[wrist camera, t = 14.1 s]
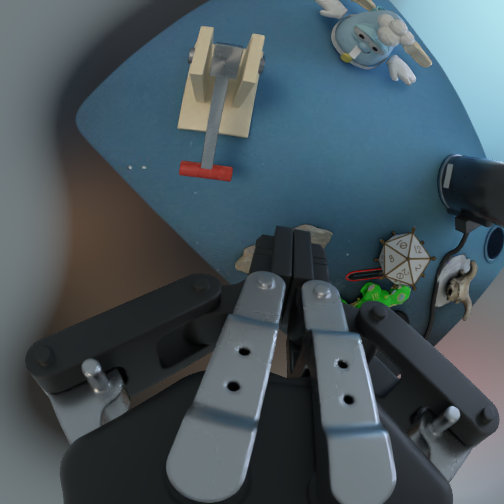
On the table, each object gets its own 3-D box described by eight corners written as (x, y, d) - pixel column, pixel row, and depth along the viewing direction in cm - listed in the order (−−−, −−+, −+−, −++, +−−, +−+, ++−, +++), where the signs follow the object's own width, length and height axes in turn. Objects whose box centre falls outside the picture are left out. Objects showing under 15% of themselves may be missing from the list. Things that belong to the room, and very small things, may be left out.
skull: (468, 250, 44) (489, 256, 38) (462, 304, 46) (481, 315, 40) (433, 257, 43) (455, 265, 37) (428, 316, 45) (447, 329, 40)
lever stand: (246, 138, 32) (268, 127, 20) (178, 129, 30) (160, 112, 18) (261, 55, 29) (289, 9, 17) (196, 45, 27) (191, -6, 15)
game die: (378, 253, 44) (396, 310, 38) (354, 233, 39) (375, 298, 33) (424, 227, 39) (448, 284, 33) (408, 201, 33) (438, 267, 28)
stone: (229, 247, 37) (241, 277, 39) (229, 258, 34) (243, 289, 37) (327, 214, 36) (334, 246, 38) (335, 223, 33) (341, 257, 36)
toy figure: (278, 31, 28) (320, -30, 14) (322, -7, 26) (371, -61, 12) (375, 114, 33) (453, 103, 19) (407, 70, 31) (480, 51, 17)
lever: (230, 174, 29) (230, 187, 27) (181, 168, 28) (178, 180, 26) (259, 49, 20) (262, 51, 18) (200, 40, 19) (197, 41, 17)
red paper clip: (345, 284, 40) (343, 282, 40) (418, 274, 41) (416, 273, 42) (346, 271, 39) (344, 270, 40) (420, 263, 41) (418, 262, 41)
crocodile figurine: (401, 298, 43) (415, 310, 39) (304, 343, 42) (313, 360, 38) (398, 264, 41) (414, 274, 37) (293, 310, 40) (302, 326, 36)
